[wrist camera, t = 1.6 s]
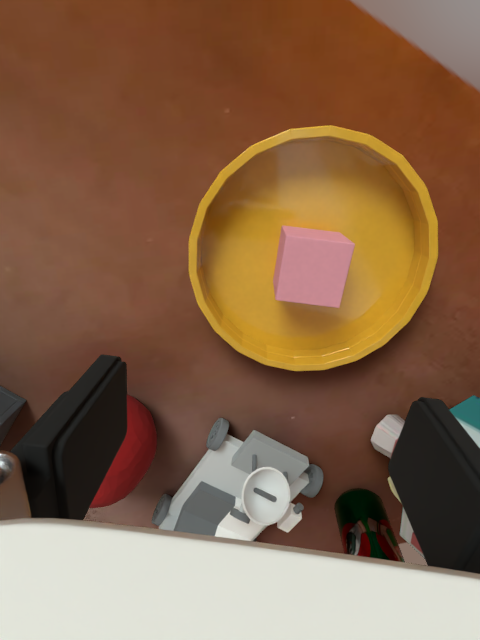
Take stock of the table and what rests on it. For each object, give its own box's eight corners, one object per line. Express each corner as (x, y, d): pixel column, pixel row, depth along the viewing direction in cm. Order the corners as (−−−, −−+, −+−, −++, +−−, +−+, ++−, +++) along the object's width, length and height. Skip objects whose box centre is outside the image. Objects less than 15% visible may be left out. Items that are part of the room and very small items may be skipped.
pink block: (273, 281, 27) (275, 300, 23) (281, 225, 26) (285, 235, 22) (327, 288, 27) (339, 308, 23) (340, 232, 26) (355, 243, 21)
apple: (163, 456, 36) (131, 554, 27) (78, 443, 36) (16, 536, 27) (169, 383, 32) (134, 467, 23) (74, 368, 32) (0, 447, 23)
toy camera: (476, 337, 35) (325, 409, 27) (591, 375, 28) (430, 490, 20) (460, 423, 40) (326, 507, 32) (556, 476, 32) (412, 604, 24)
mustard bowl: (155, 277, 28) (143, 288, 25) (291, 70, 22) (295, 56, 19) (314, 386, 32) (319, 407, 29) (469, 233, 26) (495, 240, 23)
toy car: (228, 477, 23) (364, 542, 25) (236, 392, 32) (336, 444, 34) (125, 603, 30) (239, 647, 32) (156, 503, 39) (243, 542, 41)
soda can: (334, 519, 38) (365, 659, 27) (331, 486, 36) (363, 623, 25) (381, 516, 38) (431, 658, 27) (380, 483, 36) (434, 621, 25)
